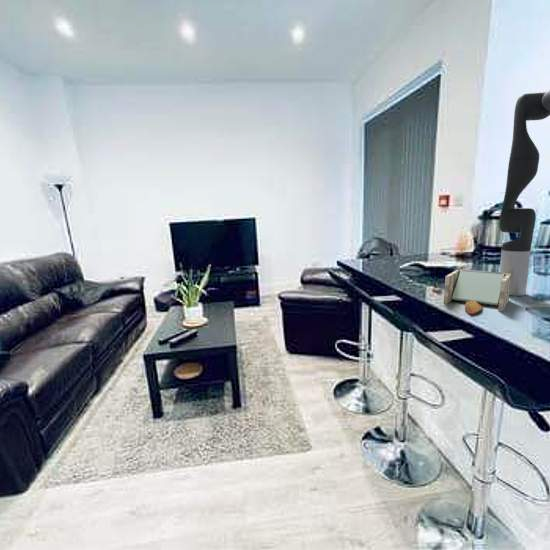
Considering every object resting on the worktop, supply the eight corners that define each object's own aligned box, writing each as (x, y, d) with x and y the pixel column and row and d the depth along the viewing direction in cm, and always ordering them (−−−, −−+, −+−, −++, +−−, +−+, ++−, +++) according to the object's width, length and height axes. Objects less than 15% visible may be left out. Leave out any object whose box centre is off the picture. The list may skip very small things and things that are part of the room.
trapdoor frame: (454, 294, 134) (456, 269, 132) (508, 300, 123) (511, 273, 121) (443, 303, 121) (445, 276, 119) (502, 311, 110) (505, 281, 108)
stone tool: (483, 299, 116) (482, 312, 104) (483, 305, 116) (481, 319, 104) (466, 297, 119) (463, 310, 106) (466, 303, 119) (462, 317, 107)
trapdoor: (461, 270, 130) (460, 268, 129) (504, 274, 121) (504, 272, 120) (452, 299, 123) (452, 297, 122) (497, 305, 114) (497, 303, 113)
